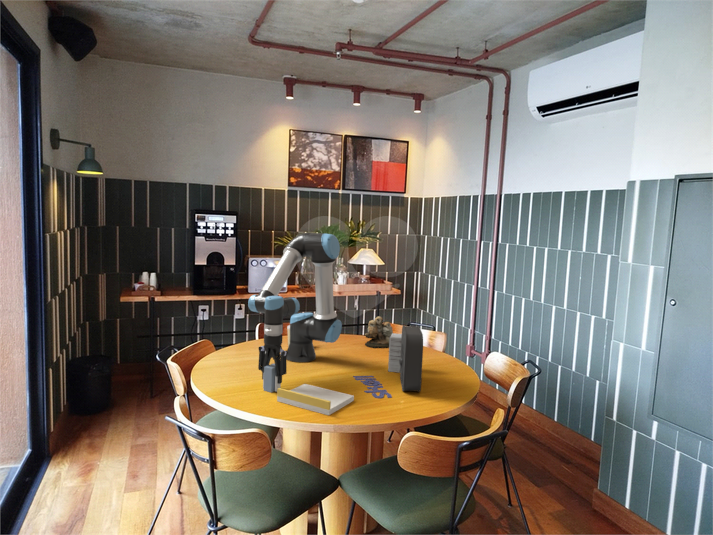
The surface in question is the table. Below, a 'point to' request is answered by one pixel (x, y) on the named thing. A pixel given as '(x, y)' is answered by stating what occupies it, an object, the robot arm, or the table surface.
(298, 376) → the table surface
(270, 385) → the carton
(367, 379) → the signage
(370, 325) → the owl figurine
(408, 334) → the speaker
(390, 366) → the supplement box
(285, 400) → the display plank
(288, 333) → the coffee cup
